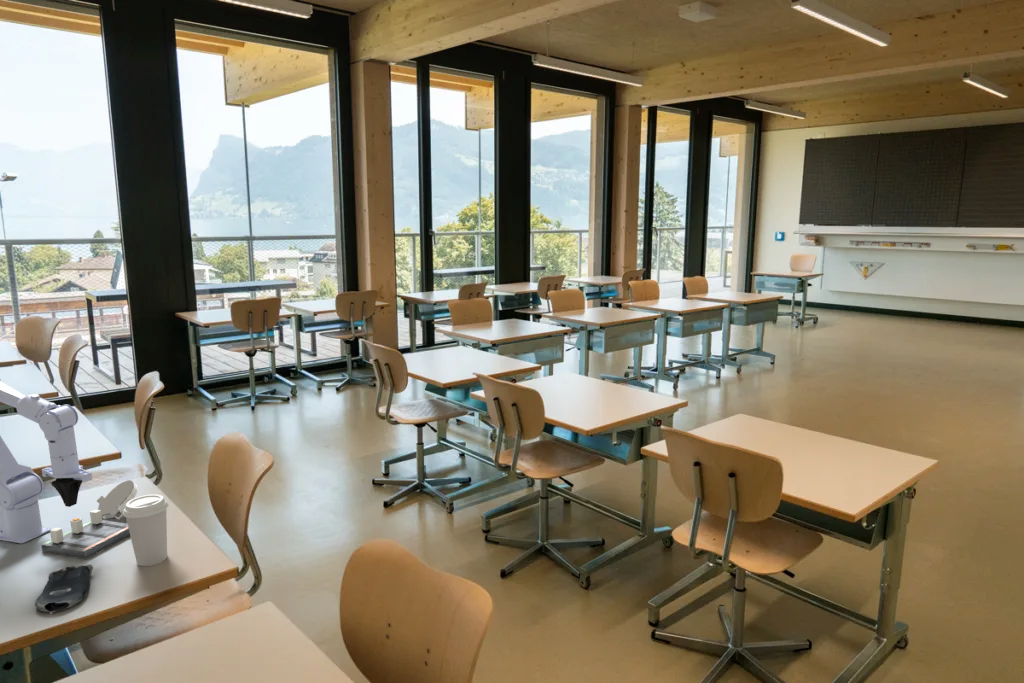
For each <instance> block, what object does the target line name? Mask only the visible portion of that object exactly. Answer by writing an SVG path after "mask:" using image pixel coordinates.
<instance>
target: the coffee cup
mask: <svg viewBox="0 0 1024 683" xmlns="http://www.w3.org/2000/svg"><path fill="white" fill-rule="evenodd" d="M168 507H169V503H168V501H167V499H165V498H164V496H163V495H161V494H157V493H155V494H144V495H140V496H137V497H136V496H135V497H134V499H132V500H130V501H128V502H127V503H126V506H125V508H124V509H123V510H122V512H123V516H122V517H125V520H126V524H128V528H129V532H130V536H129V537H130V540H131V544H132V548H133V552H134V556H135V562H136V565H138V566H140V567H150V566H155V565H159V564H160V563H162V562H164V561H165V560H166V559H167V558H168V537H167V534H168V531H167V528H168V527H167V524H168V522H167V521H168V520H167V509H168Z"/></svg>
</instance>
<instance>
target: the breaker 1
mask: <svg viewBox="0 0 1024 683" xmlns="http://www.w3.org/2000/svg"><path fill="white" fill-rule="evenodd" d="M49 533H50V540H51V541H52V542H53V543H60V542H62V541H64V539H63V534H64V533H63V528H61V527H53V528H51V530H50V531H49Z"/></svg>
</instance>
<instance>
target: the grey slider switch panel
mask: <svg viewBox="0 0 1024 683" xmlns="http://www.w3.org/2000/svg"><path fill="white" fill-rule="evenodd" d="M82 524H83V530H84V531H82V532H80V533H72V529H71V530H68V531H67V532H64V533H63V539H64V541H62V542H60V543H53V542H52V541H51V539H50V540H48V541H45V542H44V543H41V544H40V545H41V551H42V553H47V554H50V555H51V554H53V555H58V556H63V557H69V558H74V559H75V558H76V559H79V560H87V559H89V558H92V557H93V556H95V555H96V554H98V553H100V552H102V551H104V550H106V549H108V548H109V547H111V546H113V545H115V544H117V543H119V542H121V541H123V540H125V539H127V538H128V537H131V536H130V532H129V528H128V524H127V523H125V522H119V521H112V520H107V519H102V522H101V523H99V524H92V523H91V520H89V521H87V522H86V523H82Z"/></svg>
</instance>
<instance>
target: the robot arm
mask: <svg viewBox="0 0 1024 683" xmlns="http://www.w3.org/2000/svg"><path fill="white" fill-rule="evenodd" d="M0 403H3V404H5V405H8V406H10V407H13V408H15V409H16V411H17V414H18V415H19V416H21V417H23V418H25V419H28V420H29V421H32V422H34V423H36V424H38V426H39V428H40V430H42V432H43V433H44V439H45V440H46V441H47V443H48V444H47V445H48V450H49V458H50V464H51V466H48V467H45V468H42V469H41V475H42V477H43V478H47V477H52V478H54V479H55V480H53V481H51V483H50V484H51V486H52V487H53V488H54V489H55V490H56V492H57V493H59V496H60V497H61V499H62V502H63V504H64V506H65V507H66V508H67V507H68V508H70V507H73V506H74V505H77V503H78V498H79V497H78V496H79V491H80V488H81V486H82V483H86V482H90V481H92V480H93V475H92V472H91V471H87V470H85V469H84V465H80V462H79V457H78V456H79V455H78V447H77V441H76V435H75V434H76V433H75V427H74V426H76V425H77V423H78V422H79V415H78V414H79V413H78V412H77V410H76V409H75V408H74V407H73V406H71V405H70V404H62V405H60V404H58V405H57V404H56V403H55V402H51V401H48V400H46V399H45V398H43V397H41V395H39V394H36V393H35V394H33V393H32V394H28V395H25V394H23V393H21V392H19V391H18V390H16V389H14V388H12V387H10V386H9V385H7V384H6V383H3V382H2V380H1V379H0ZM43 478H41V476H40V475H38V474H37V473H36V472H34V470H33V469H32V467H31V466H27V465H24V464H23V465H22V464H20V463H18V461H17V459H16V458H15V456H14V455H13V453H12V451H11V450H10V448H9V447H8V444H6V442H5V441H4V439H3V438H2V436H1V435H0V541H4V542H10V543H17V544H24V543H26V542H28V541H30V540H34V539H35V538H38V537H40V536H42V535H44V534H46V533H49V532H50V530H52V528H49V527H43V525H42V524H43V523H42V519H41V517H42V516H41V513H40V505H39V499H41V494H42V493H43V491H44V488H45V484H44V481H43Z"/></svg>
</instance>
